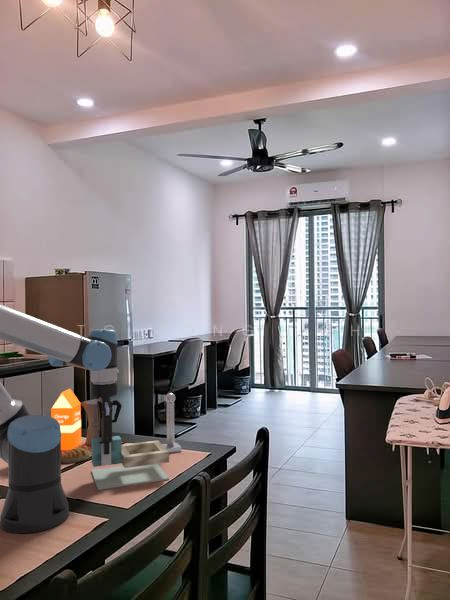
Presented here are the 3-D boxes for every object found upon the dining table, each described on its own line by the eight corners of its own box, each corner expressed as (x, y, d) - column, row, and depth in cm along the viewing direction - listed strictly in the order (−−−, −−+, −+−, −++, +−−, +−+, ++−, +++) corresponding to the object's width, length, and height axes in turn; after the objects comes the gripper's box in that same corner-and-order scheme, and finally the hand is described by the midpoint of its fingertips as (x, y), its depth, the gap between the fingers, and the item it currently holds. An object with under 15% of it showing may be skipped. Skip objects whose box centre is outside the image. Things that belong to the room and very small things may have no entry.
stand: (164, 453, 165) (163, 395, 165) (160, 448, 171) (159, 392, 171) (181, 451, 167) (180, 393, 167) (176, 446, 173) (176, 390, 173)
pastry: (65, 466, 154) (65, 454, 154) (55, 461, 158) (55, 450, 158) (92, 459, 161) (91, 447, 161) (81, 454, 165) (81, 443, 165)
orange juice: (51, 450, 170) (50, 392, 170) (61, 442, 179) (59, 388, 179) (73, 449, 170) (72, 392, 170) (82, 442, 179) (80, 388, 179)
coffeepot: (75, 446, 175) (75, 395, 175) (85, 438, 184) (84, 391, 184) (118, 446, 173) (117, 396, 174) (125, 439, 183) (124, 391, 183)
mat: (98, 490, 133) (97, 488, 133) (91, 471, 148) (91, 469, 148) (169, 479, 140) (169, 478, 140) (155, 463, 155) (155, 461, 155)
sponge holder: (95, 472, 134) (95, 446, 134) (90, 458, 146) (89, 434, 146) (169, 462, 142) (168, 438, 142) (158, 449, 154) (158, 427, 154)
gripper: (122, 385, 135) (123, 469, 135) (112, 377, 151) (113, 452, 151) (94, 387, 132) (95, 473, 132) (87, 378, 148) (88, 455, 148)
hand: (105, 462), depth 142 cm, fingers closed on sponge holder, 4 cm apart
